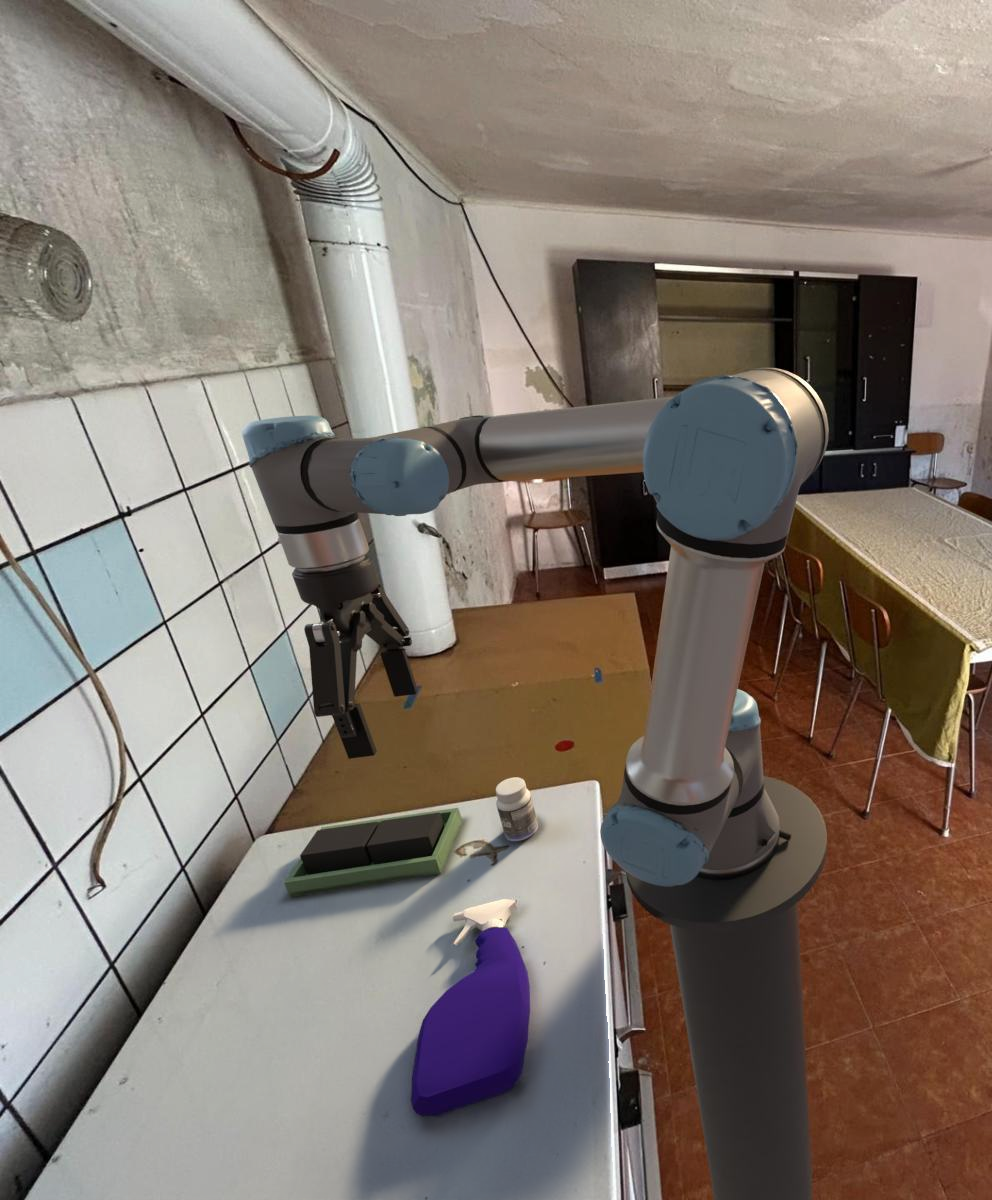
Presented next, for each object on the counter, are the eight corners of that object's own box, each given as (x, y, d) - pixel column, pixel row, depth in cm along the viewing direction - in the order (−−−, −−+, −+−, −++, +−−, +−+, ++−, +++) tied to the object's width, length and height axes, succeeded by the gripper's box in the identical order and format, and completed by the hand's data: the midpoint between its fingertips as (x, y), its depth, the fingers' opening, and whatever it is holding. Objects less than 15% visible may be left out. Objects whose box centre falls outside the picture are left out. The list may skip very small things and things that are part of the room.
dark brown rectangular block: (384, 839, 96) (377, 821, 95) (370, 865, 91) (363, 846, 90) (325, 848, 95) (317, 829, 93) (307, 875, 90) (299, 855, 89)
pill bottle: (500, 830, 98) (487, 785, 95) (531, 815, 101) (520, 770, 98) (511, 847, 95) (499, 801, 91) (543, 830, 98) (532, 785, 94)
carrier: (462, 820, 100) (458, 807, 99) (440, 873, 91) (435, 859, 90) (327, 840, 97) (321, 827, 96) (290, 897, 88) (283, 882, 87)
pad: (445, 830, 97) (439, 812, 96) (435, 855, 93) (428, 836, 91) (388, 839, 96) (381, 820, 95) (374, 864, 92) (366, 845, 90)
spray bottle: (523, 1068, 63) (532, 883, 85) (397, 1111, 60) (439, 908, 82) (529, 1087, 65) (536, 900, 86) (406, 1131, 61) (445, 925, 83)
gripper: (345, 531, 83) (392, 676, 92) (224, 609, 61) (301, 792, 69) (408, 526, 85) (449, 670, 93) (312, 600, 62) (378, 781, 70)
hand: (386, 722), depth 81 cm, fingers open, 13 cm apart
